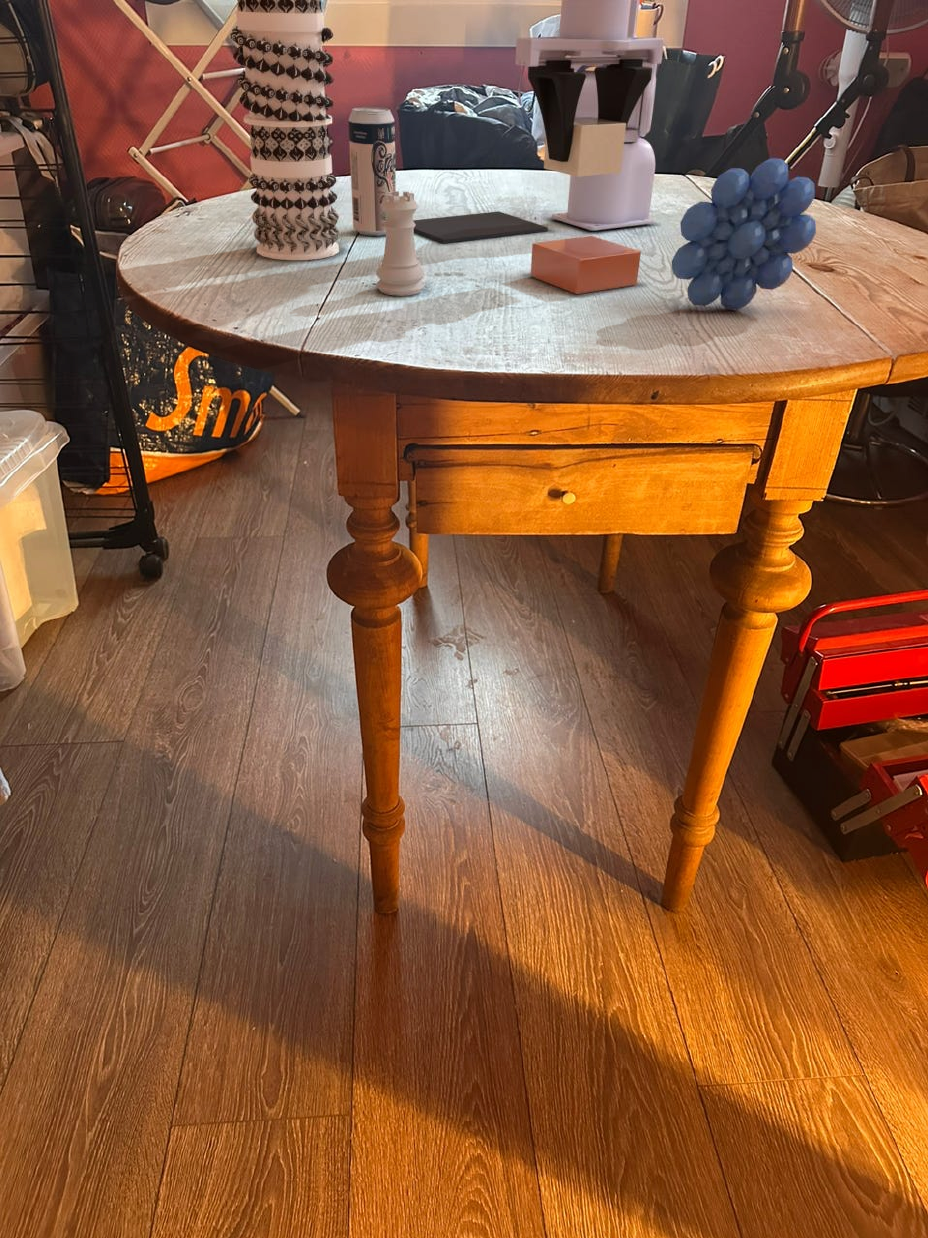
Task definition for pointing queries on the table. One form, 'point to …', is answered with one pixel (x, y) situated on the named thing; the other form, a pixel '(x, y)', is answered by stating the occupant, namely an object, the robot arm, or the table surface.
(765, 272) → the blue beaded flower
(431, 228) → the rubber mat
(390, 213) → the rook chess piece
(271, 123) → the decorative candle
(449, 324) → the table surface
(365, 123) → the beer can
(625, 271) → the glossy orange square block
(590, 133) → the beige cube
